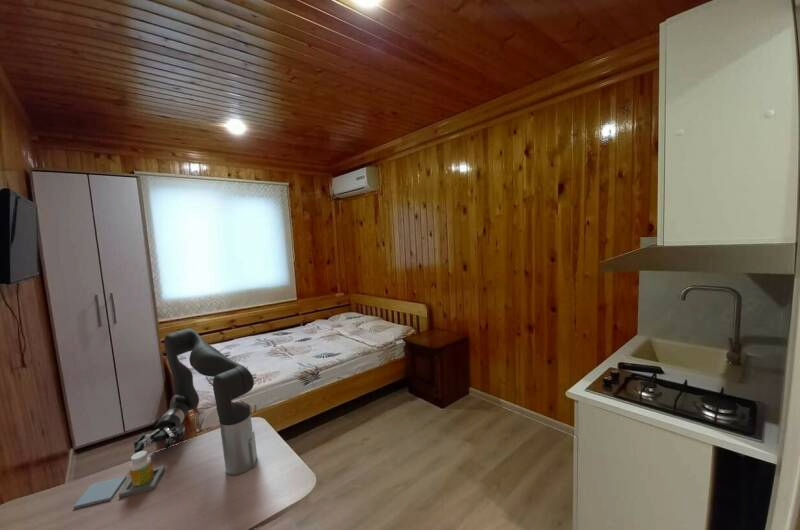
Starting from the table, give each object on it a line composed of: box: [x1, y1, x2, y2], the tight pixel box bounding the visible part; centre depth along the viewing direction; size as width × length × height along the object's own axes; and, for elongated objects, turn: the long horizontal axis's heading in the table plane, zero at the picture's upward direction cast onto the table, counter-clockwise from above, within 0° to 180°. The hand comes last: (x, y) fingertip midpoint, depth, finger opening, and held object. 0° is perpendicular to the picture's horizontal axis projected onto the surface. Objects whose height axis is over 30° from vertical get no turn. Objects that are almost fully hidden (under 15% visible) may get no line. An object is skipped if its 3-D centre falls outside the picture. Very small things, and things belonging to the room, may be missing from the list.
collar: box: [118, 465, 166, 498], centre depth 103 cm, size 9×9×1 cm
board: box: [73, 475, 127, 510], centre depth 100 cm, size 9×9×1 cm
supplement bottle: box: [129, 450, 155, 488], centre depth 103 cm, size 5×5×10 cm
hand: (151, 449), depth 110 cm, fingers open, 8 cm apart
